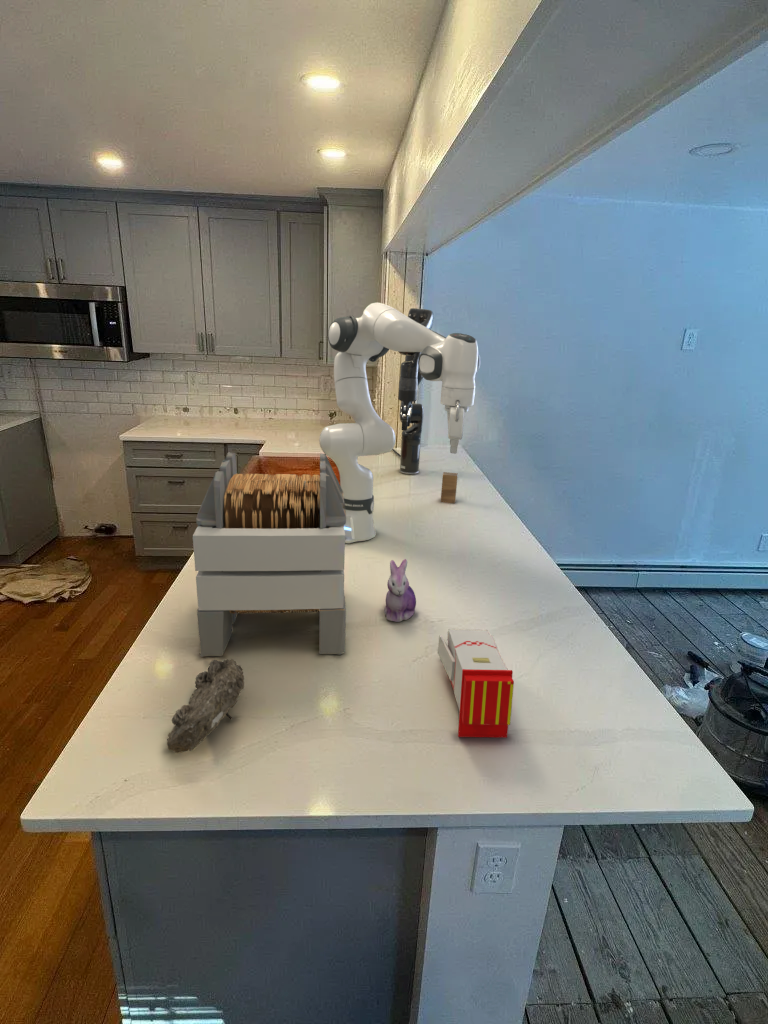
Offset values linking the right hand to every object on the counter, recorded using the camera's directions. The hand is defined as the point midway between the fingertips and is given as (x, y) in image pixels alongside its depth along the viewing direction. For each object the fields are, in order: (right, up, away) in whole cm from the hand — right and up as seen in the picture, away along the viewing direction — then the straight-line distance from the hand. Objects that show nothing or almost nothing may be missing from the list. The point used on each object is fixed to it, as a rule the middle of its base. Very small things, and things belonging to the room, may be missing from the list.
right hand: (405, 428), depth 234 cm
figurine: (-5, -61, -87) cm, 106 cm away
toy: (+9, -72, -115) cm, 137 cm away
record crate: (-36, -62, -91) cm, 116 cm away
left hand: (+10, -17, -79) cm, 81 cm away
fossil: (-42, -74, -126) cm, 152 cm away
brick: (+18, -30, +2) cm, 35 cm away
